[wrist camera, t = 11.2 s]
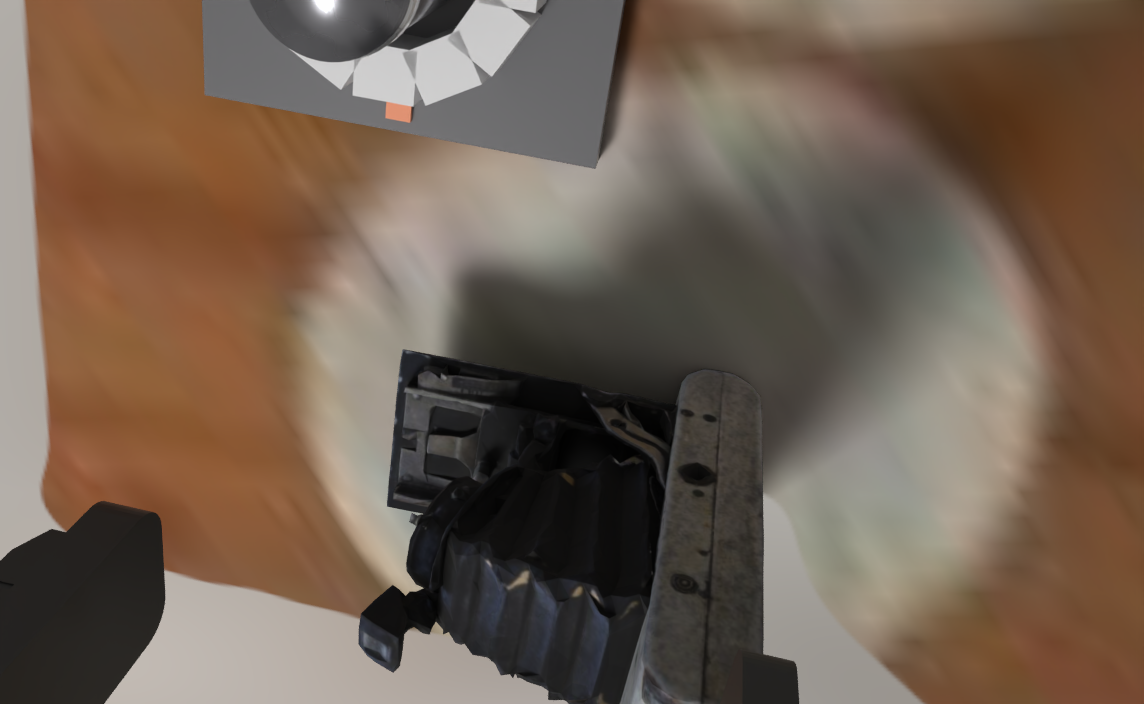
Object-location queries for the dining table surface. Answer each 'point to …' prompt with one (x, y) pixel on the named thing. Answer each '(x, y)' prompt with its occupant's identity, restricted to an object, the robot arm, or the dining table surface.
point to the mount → (442, 74)
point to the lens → (340, 24)
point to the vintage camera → (578, 530)
